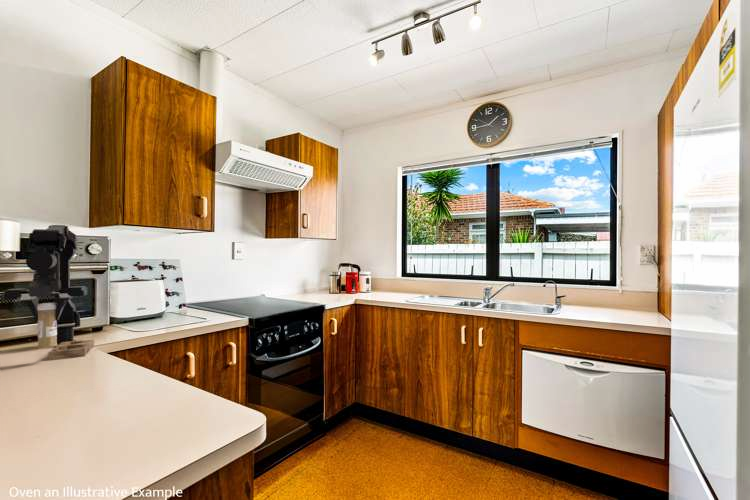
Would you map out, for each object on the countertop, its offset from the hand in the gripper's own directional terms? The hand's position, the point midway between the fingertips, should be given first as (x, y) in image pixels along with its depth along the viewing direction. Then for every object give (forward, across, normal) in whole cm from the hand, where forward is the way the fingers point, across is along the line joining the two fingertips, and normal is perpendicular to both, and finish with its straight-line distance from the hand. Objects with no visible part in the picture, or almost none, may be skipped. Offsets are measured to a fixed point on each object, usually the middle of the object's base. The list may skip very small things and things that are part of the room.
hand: (47, 320), depth 111 cm
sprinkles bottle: (+8, 0, 0) cm, 8 cm away
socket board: (+13, +4, +10) cm, 17 cm away
